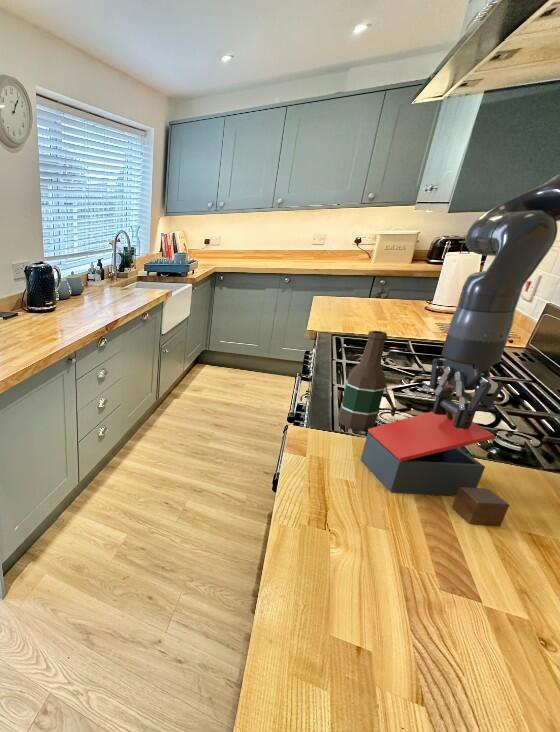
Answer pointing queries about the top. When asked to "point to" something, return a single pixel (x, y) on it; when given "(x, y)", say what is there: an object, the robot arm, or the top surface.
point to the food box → (422, 470)
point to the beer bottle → (364, 386)
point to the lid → (428, 434)
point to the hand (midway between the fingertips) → (449, 420)
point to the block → (480, 506)
